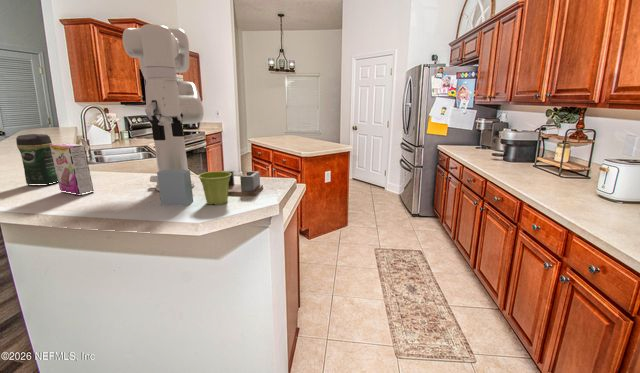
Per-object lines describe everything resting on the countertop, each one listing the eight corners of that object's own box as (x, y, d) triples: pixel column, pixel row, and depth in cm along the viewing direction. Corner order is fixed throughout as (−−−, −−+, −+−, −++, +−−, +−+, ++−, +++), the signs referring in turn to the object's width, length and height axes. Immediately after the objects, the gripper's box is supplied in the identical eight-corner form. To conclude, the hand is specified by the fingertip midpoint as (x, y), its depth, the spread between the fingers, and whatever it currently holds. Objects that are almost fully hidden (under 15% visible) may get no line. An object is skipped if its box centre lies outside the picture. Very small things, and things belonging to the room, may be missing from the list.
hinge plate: (211, 194, 107) (211, 191, 107) (221, 187, 116) (221, 184, 115) (255, 195, 106) (255, 192, 105) (263, 188, 114) (262, 184, 114)
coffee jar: (65, 181, 125) (54, 132, 120) (47, 186, 118) (35, 135, 113) (41, 181, 126) (30, 132, 121) (22, 186, 118) (9, 135, 113)
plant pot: (224, 195, 106) (222, 169, 104) (238, 202, 99) (236, 174, 97) (196, 201, 100) (193, 174, 98) (209, 209, 93) (206, 179, 91)
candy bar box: (59, 192, 110) (48, 144, 106) (75, 189, 114) (65, 142, 110) (79, 196, 106) (68, 146, 101) (95, 192, 110) (85, 144, 106)
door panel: (161, 205, 97) (156, 172, 94) (168, 201, 101) (164, 169, 98) (187, 205, 96) (183, 172, 94) (193, 201, 100) (189, 169, 98)
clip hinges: (214, 190, 107) (212, 175, 106) (223, 184, 115) (221, 170, 113) (253, 191, 106) (252, 176, 105) (260, 185, 113) (259, 171, 112)
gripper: (165, 77, 97) (173, 135, 102) (127, 72, 81) (137, 141, 85) (189, 77, 97) (196, 135, 101) (156, 72, 80) (165, 141, 84)
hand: (169, 138), depth 93 cm, fingers open, 9 cm apart
